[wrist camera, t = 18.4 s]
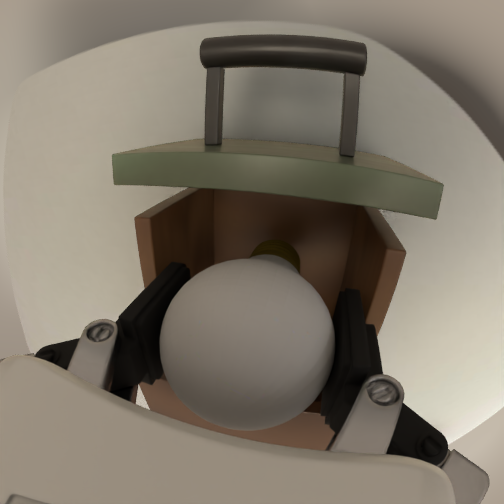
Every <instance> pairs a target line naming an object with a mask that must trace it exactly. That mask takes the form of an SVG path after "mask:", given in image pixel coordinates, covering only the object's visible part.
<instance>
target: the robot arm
mask: <svg viewBox="0 0 504 504" xmlns="http://www.w3.org/2000/svg"><path fill="white" fill-rule="evenodd" d="M190 279H191V276H190V269H189V268H187V266H186V264H184V263H178V262H171V263H170V264H169V265H168V266H167V267H166V268H165V269H164V270H163V271H162V272H161V273H160V274H159V275H158V276H157V277H156V278H155V279H154V280H153V281H152V282H151V283H150V284H149V285H148V286H147V287H146V288H145V289H144V290H143V291H142V293H141V294H140V295H139V296H138V297H137V298H136V299H135V300H134V301H133V302H132V303H131V304H130V305H129V306H128V307H127V308H126V309H125V310H124V312H123V313H122V314H121V315H120V316H119V319H118V320H117V321H116V322H114V321H112V320H108V319H99V320H96V321H93V322H91V323H90V324H88V325H87V326H86V327H85V329H84V330H83V333H82V335H81V337H80V338H78V339H74V340H70V341H65V342H61V343H57V344H52V345H48V346H45V347H43V348H41V349H40V350H39V351H38V352H37V353H36V355H34V353H32V354H27V355H13V356H10V357H7V358H5V359H1V360H0V504H480V503H481V501H482V500H483V498H484V496H485V494H486V492H487V490H488V488H489V477H488V474H487V473H486V472H485V471H484V470H482V469H481V468H479V467H478V466H477V465H475V464H474V463H473V462H471V461H470V460H468V459H467V458H466V457H464V456H463V455H461V454H460V453H459V452H457V451H456V450H455V449H453V450H452V451H450V450H449V449H448V443H447V440H446V438H445V437H444V435H443V434H442V433H441V432H439V431H438V430H437V429H435V428H434V427H433V426H432V425H430V424H429V423H428V422H426V421H425V420H424V419H423V418H421V417H420V416H419V415H418V414H416V413H415V412H414V411H413V410H411V409H410V408H409V407H408V406H406V405H405V404H404V403H403V400H404V390H403V387H402V386H401V384H400V383H399V382H398V381H397V380H396V379H395V378H393V377H391V376H388V375H384V374H383V371H382V365H381V358H380V352H379V346H378V340H377V334H376V329H375V326H374V325H373V324H365V318H364V311H363V306H362V300H361V294H360V290H358V289H350V288H345V290H344V291H340V292H339V295H338V299H337V303H336V307H335V311H334V315H333V318H332V322H333V325H334V331H335V340H336V349H335V357H334V363H333V367H332V370H331V373H330V376H329V378H328V380H327V383H326V385H325V386H324V388H323V390H322V401H321V412H320V415H321V416H325V424H327V425H330V426H329V427H330V428H331V429H332V430H333V431H334V432H335V433H334V435H333V436H332V438H331V440H330V442H329V443H328V445H327V447H326V449H325V450H324V451H322V450H312V449H303V448H295V447H288V446H281V445H275V444H269V443H263V442H258V441H253V440H248V439H243V438H239V437H235V436H231V435H226V434H222V433H219V432H215V431H211V430H208V429H204V428H201V427H197V426H194V425H191V424H188V423H185V422H181V421H178V420H176V419H173V418H170V417H167V416H164V415H161V414H159V413H156V412H154V411H151V410H148V409H146V408H143V407H141V406H139V405H136V397H137V390H138V384H140V383H141V382H144V383H147V384H149V385H153V384H154V382H155V380H156V379H157V380H159V379H160V378H161V377H162V375H163V373H164V370H163V366H162V363H161V358H160V343H159V342H160V333H161V327H162V322H163V319H164V316H165V314H166V311H167V309H168V307H169V305H170V303H171V301H172V300H173V298H174V297H175V295H176V294H177V293H178V292H179V290H180V289H181V288H182V287H183V286H184V284H186V283H187V282H188V281H189V280H190Z"/></svg>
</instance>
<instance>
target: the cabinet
mask: <svg viewBox="0 0 504 504" xmlns="http://www.w3.org/2000/svg"><path fill="white" fill-rule="evenodd" d="M139 386H140V388H141V390H142V393H143V395H144V397H145V399H146V402H147V404H148V406H149V408H150V410H151V411H154V412H156V413H159V414H161V415H164V416H167V417H170V418H173V419H176V420H178V421H181V422H185V423H188V424H191V425H194V426H197V427H201V428H204V429H208V430H211V431H215V432H219V433H222V434H226V435H231V436H235V437H239V438H243V439H248V440H253V441H258V442H263V443H269V444H275V445H281V446H288V447H295V448H303V449H312V450H322V451H324V450H325V449H326V447H327V445H328V443H329V442H330V440H331V438H332V436H333V435H334V433H335V432H334V431H333V430H332V429H331V428H330V427H329V426H330V425H327V424H325V416H321V415H320V412H321V402H320V401H314V402H313V403H312V404H311V405H310V406H308V407H307V408H306V409H305V410H304V411H303V412H302V413H300V414H299V415H297V416H296V417H294V418H292V419H290V420H289V421H287V422H285V423H282V424H280V425H277V426H274V427H271V428H267V429H261V430H251V431H244V430H233V429H229V428H225V427H221V426H218V425H215V424H213V423H210V422H208V421H206V420H204V419H203V418H201V417H199V416H198V415H196V414H195V413H194V412H192V411H191V410H190V409H189V408H187V407H186V406H185V405H184V404H183V402H182V401H181V400H180V399H179V398H178V397H177V395H176V394H175V392H174V391H173V390H172V388H171V386H170V384H169V382H168V380H167V378H166V376H165V373H163V375H162V377H161V378H160V379H159V380H157V379H156V380H155V382H154V384H153V385H149V384H147V383H144V382H141V383H140V384H139Z"/></svg>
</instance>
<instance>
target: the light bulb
mask: <svg viewBox="0 0 504 504" xmlns="http://www.w3.org/2000/svg"><path fill="white" fill-rule="evenodd" d="M159 343H160V358H161V363H162V366H163V370H164V373H165V376H166V378H167V380H168V382H169V384H170V386H171V388H172V390H173V391H174V392H175V394H176V395H177V397H178V398H179V399H180V400H181V401H182V402H183V404H184V405H185V406H186V407H187V408H189V409H190V410H191V411H192V412H194V413H195V414H196V415H198V416H199V417H201V418H203V419H204V420H206V421H208V422H210V423H213V424H215V425H218V426H221V427H225V428H229V429H233V430H244V431H251V430H261V429H267V428H271V427H274V426H277V425H280V424H282V423H285V422H287V421H289V420H290V419H292V418H294V417H296V416H297V415H299V414H300V413H302V412H303V411H304V410H305V409H306V408H307V407H308V406H310V405H311V404H312V403H313V402H314V400H315V399H316V398H317V397H318V395H319V394H320V392H321V391H322V390H323V388H324V386H325V385H326V383H327V380H328V378H329V376H330V373H331V370H332V367H333V363H334V357H335V349H336V340H335V331H334V325H333V322H332V319H331V316H330V313H329V310H328V308H327V306H326V305H325V303H324V301H323V299H322V298H321V296H320V295H319V293H318V292H317V291H316V290H315V289H314V288H313V286H312V285H311V284H310V283H309V282H307V281H306V280H305V279H304V278H303V277H302V276H300V257H299V255H298V253H297V251H296V250H295V249H294V248H293V247H292V246H291V245H290V244H288V243H286V242H284V241H281V240H267V241H264V242H262V243H260V244H259V245H258V246H257V247H256V248H255V249H254V251H253V252H252V254H251V255H250V257H249V258H248V259H236V260H229V261H225V262H222V263H219V264H216V265H213V266H211V267H209V268H207V269H205V270H203V271H201V272H199V273H198V274H196V275H195V276H194V277H193V278H192V279H190V280H189V281H188V282H187V283H186V284H184V286H183V287H182V288H181V289H180V290H179V292H178V293H177V294H176V295H175V297H174V298H173V300H172V301H171V303H170V305H169V307H168V309H167V311H166V314H165V316H164V319H163V322H162V327H161V333H160V342H159Z"/></svg>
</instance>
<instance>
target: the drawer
mask: <svg viewBox="0 0 504 504" xmlns="http://www.w3.org/2000/svg"><path fill="white" fill-rule="evenodd" d="M200 59H201V63H202V65H203V67H204V68H206V69H207V80H206V105H205V139H193V140H186V141H179V142H173V143H167V144H161V145H155V146H150V147H145V148H140V149H135V150H130V151H125V152H121V153H116V154H113V155H112V165H113V179H114V185H144V186H171V187H189V188H187V189H185V190H183V191H181V192H179V193H177V194H175V195H173V196H172V197H170V198H168V199H166V200H164V201H162V202H161V203H159V204H157V205H155V206H153V207H151V208H150V209H148V210H146V211H144V212H143V213H141V214H139V215H137V216H136V217H135V218H134V220H135V228H136V236H137V244H138V251H139V257H140V264H141V270H142V276H143V281H144V287H145V288H146V287H147V286H148V285H149V284H150V283H151V282H152V281H153V280H154V279H155V278H156V277H157V276H158V275H159V274H160V273H161V272H162V271H163V270H164V269H165V268H166V267H167V266H168V265H169V264H170V263H171V262H178V263H184V264H186V266H187V268H189V269H190V276H191V279H192V278H193V277H194V276H195V275H196V274H198V273H199V272H201V271H203V270H205V269H207V268H209V267H211V266H213V265H216V264H219V263H222V262H225V261H229V260H236V259H248V258H249V257H250V255H251V254H252V252H253V251H254V249H255V248H256V247H257V246H258V245H259V244H260V243H262V242H264V241H267V240H281V241H284V242H286V243H288V244H290V245H291V246H292V247H293V248H294V249H295V250H296V251H297V253H298V255H299V257H300V276H302V277H303V278H304V279H305V280H306V281H307V282H309V283H310V284H311V285H312V286H313V288H314V289H315V290H316V291H317V292H318V293H319V295H320V296H321V298H322V299H323V301H324V303H325V305H326V306H327V308H328V310H329V313H330V316H331V319H332V318H333V315H334V311H335V307H336V303H337V299H338V295H339V292H340V291H344V290H345V288H350V289H358V290H360V294H361V300H362V306H363V311H364V318H365V324H373V325H374V326H375V329H376V334H377V336H378V333H379V331H380V328H381V326H382V323H383V321H384V318H385V316H386V313H387V310H388V308H389V305H390V302H391V299H392V297H393V294H394V291H395V288H396V285H397V282H398V279H399V275H400V272H401V269H402V266H403V262H404V259H405V255H406V250H405V249H404V247H403V246H402V244H401V242H400V241H399V239H398V238H397V236H396V235H395V233H394V232H393V230H392V229H391V227H390V226H389V224H388V223H387V221H386V220H385V218H384V217H383V215H382V214H381V213H380V211H379V210H378V209H382V210H388V211H393V212H399V213H404V214H409V215H415V216H420V217H425V218H429V219H434V220H436V219H437V215H438V211H439V206H440V201H441V197H442V191H443V186H444V185H443V184H442V183H440V182H438V181H436V180H434V179H433V178H431V177H429V176H427V175H425V174H422V173H420V172H418V171H416V170H414V169H412V168H410V167H408V166H405V165H403V164H401V163H399V162H397V161H394V160H392V159H390V158H387V157H385V156H381V155H375V154H370V153H364V152H359V151H355V146H356V135H357V123H358V108H359V89H360V76H364V74H365V71H366V65H367V49H366V45H365V44H364V43H359V42H354V41H347V40H340V39H333V38H324V37H314V36H300V35H238V36H224V37H214V38H206V39H204V40H203V41H202V43H201V45H200ZM238 67H276V68H297V69H310V70H320V71H329V72H336V73H343V74H344V80H343V102H342V118H341V131H340V143H339V148H332V147H325V146H317V145H309V144H299V143H289V142H277V141H262V140H243V139H222V122H223V95H224V74H225V69H223V68H238ZM314 401H320V402H321V401H322V391H321V392H320V394H319V395H318V397H317V398H316V399H315V400H314Z"/></svg>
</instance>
